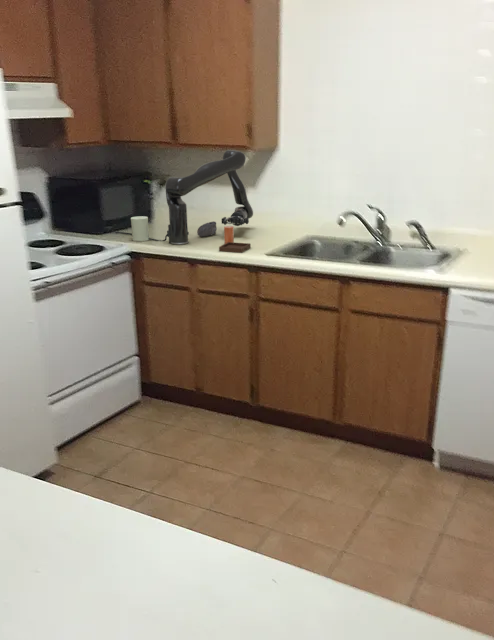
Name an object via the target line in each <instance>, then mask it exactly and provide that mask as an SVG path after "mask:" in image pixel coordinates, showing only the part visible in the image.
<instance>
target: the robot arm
mask: <svg viewBox="0 0 494 640" xmlns="http://www.w3.org/2000/svg"><path fill="white" fill-rule="evenodd" d="M246 158H247V157H246V155H245V153H244V152H242V151H241V150H235V149H227V150H225V151H224V153H223V155H222V159H219V160H217V159H216V160H211V161H207V162H205V163H203V164H201V165H199V166H198V167H197V168H196V169H195V170H194V172H193V173H191V174H188V175H187V176H169V177H168V178H167V179H166V182H165V197H166V198H165V199H166V204H167V206H168V218H169V220H168V221H169V224H168V225H167V230H166V234H165V236H164V239H162V240H161V239H155V238H153V237H151V238H150V237H149V240H148V241H155V242H165V241H167V238H168V244H171V245H175V246H176V245H187V244H189V234H190V232H189V225H188V224H189V223H188V206H187V203H186V202H185V200H183V199H182V197H184V196H187V195H188V194H190V193H191V192H193V191H194V190H196V189H197V188H199V187H201V186H204V185H206V184H208V183H210V182H212V181H214V180H216V179H217V178H220V177H222V176H224V175H227V176H228V179H229V182H230V185H231V188H232V193H233V197H234V202H235V204H236V205H240V206H236V207H235V209H234V211H233V212H232V213H231V215H230V216H228V217H226V216H224V217H221V224H222V225H224V226H227V224H228V225H232V226H235V227H239V226H243V225H245V224H246V225H248V224H249V223H250V219H251V218H252V217H253V216H254V210H253V207H252V204H251V203H250V202H249V199H248V194H247V190H246V186H245V184H244V182H243V181H242V179H241V178H240V176H239V174H238V172H237V170H240V169H241V168H243V167H244V166H245V164H246V160H247V159H246ZM111 230H112V231H109V230H107V231H106V234H108V233H109V232H111V233H115V234H122V235H123V234H124V235H130V236H132V232H125V231H116V230H113V229H111Z"/></svg>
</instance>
